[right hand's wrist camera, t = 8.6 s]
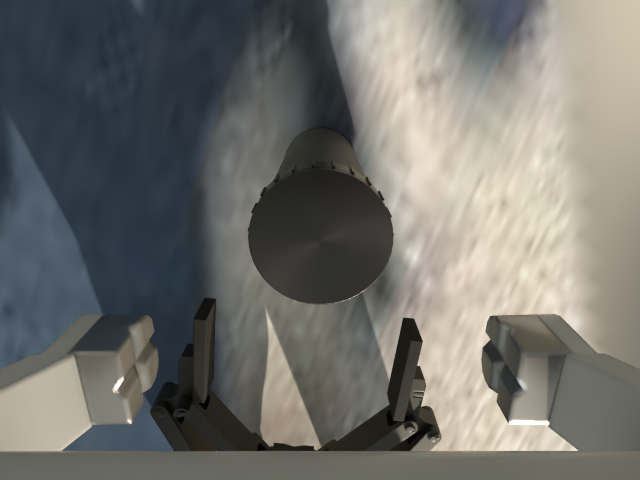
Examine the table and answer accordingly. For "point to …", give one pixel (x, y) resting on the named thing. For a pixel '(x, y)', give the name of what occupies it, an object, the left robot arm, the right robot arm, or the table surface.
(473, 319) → the table surface
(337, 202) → the lid
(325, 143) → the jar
